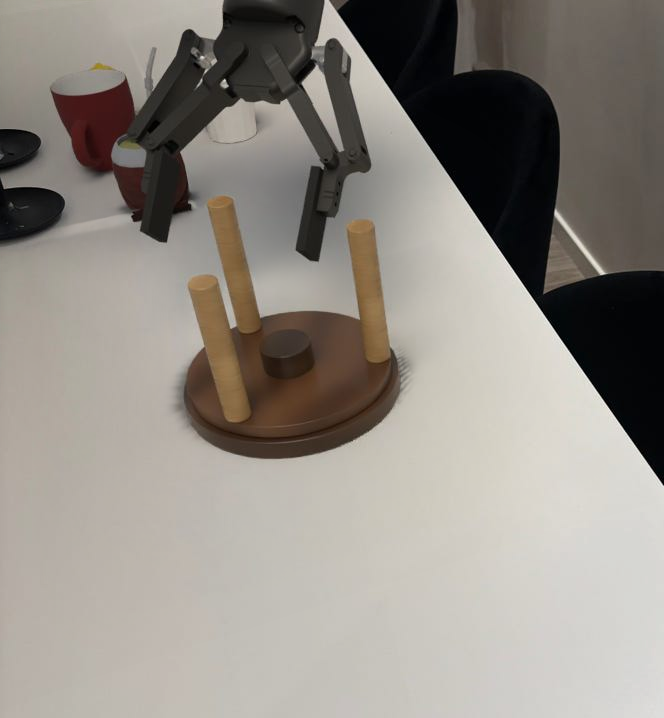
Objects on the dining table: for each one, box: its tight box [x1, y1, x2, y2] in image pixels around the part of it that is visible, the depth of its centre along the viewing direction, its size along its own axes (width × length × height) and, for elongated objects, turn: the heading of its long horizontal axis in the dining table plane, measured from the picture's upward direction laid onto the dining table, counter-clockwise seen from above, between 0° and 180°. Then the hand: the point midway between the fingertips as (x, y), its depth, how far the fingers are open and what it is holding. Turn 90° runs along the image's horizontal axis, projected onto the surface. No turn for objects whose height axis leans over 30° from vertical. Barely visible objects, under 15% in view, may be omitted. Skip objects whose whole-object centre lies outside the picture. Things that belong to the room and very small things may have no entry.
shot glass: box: [195, 68, 258, 144], centre depth 115 cm, size 7×7×7 cm
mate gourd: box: [111, 46, 193, 223], centre depth 97 cm, size 8×8×15 cm
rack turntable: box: [185, 195, 392, 438], centre depth 72 cm, size 16×16×12 cm
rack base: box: [183, 346, 401, 460], centre depth 77 cm, size 17×17×2 cm
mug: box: [49, 69, 136, 172], centre depth 106 cm, size 10×8×10 cm
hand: (228, 247), depth 76 cm, fingers open, 13 cm apart
